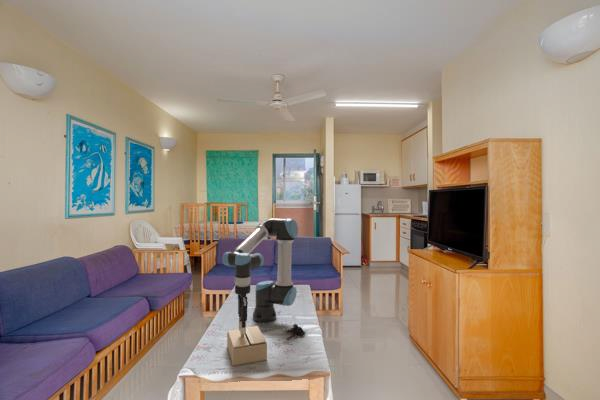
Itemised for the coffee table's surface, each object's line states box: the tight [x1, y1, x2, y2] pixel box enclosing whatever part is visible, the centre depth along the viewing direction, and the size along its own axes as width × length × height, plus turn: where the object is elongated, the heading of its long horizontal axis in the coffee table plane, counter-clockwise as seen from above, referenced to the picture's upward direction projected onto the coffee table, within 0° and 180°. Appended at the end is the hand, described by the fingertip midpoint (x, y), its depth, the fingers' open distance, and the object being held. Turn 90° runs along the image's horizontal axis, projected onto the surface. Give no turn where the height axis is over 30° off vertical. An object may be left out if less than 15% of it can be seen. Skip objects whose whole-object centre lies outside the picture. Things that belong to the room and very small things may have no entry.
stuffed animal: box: [284, 323, 306, 341], centre depth 176 cm, size 12×10×12 cm
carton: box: [226, 325, 268, 367], centre depth 154 cm, size 20×16×9 cm
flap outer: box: [227, 316, 249, 348], centre depth 153 cm, size 19×7×10 cm, turn 21°
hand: (242, 331), depth 153 cm, fingers closed on flap outer, 3 cm apart
